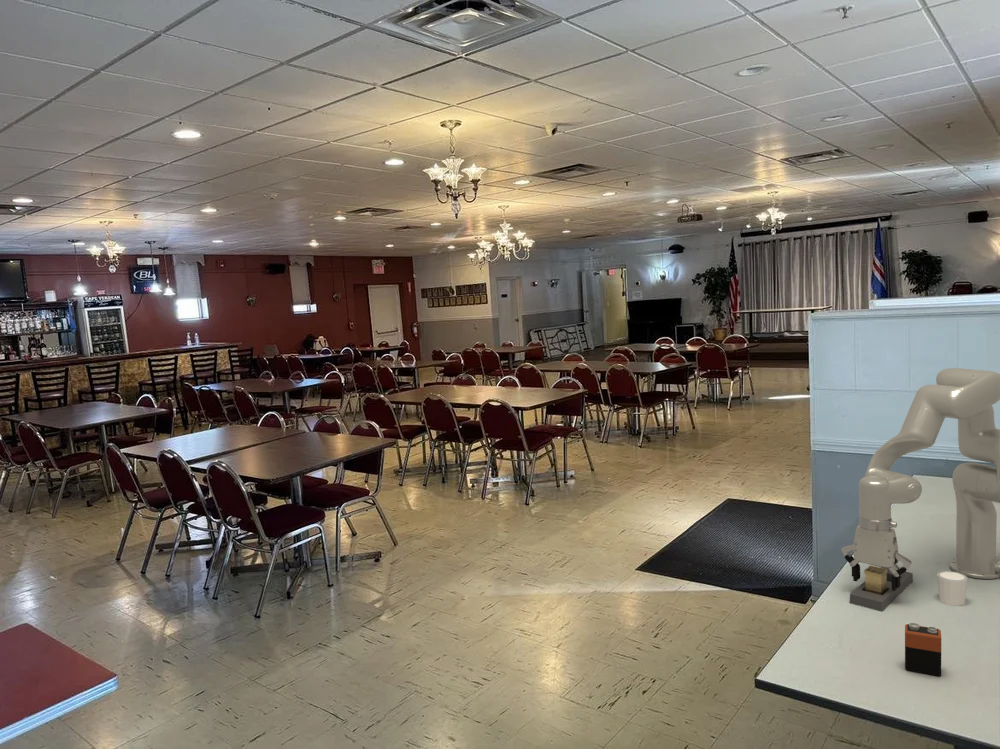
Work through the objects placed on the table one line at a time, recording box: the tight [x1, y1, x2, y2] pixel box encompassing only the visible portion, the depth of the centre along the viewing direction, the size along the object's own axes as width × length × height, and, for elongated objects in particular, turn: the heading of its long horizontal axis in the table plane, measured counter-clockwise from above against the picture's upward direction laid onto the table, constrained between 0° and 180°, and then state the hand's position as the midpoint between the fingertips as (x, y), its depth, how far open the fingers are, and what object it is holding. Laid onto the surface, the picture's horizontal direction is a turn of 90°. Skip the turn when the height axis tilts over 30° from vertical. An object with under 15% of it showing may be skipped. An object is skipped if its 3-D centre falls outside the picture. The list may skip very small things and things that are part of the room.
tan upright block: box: [863, 565, 888, 595], centre depth 188 cm, size 4×4×8 cm
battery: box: [904, 622, 942, 677], centre depth 154 cm, size 4×7×10 cm, turn 60°
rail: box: [849, 567, 914, 612], centre depth 192 cm, size 8×24×2 cm, turn 133°
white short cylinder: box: [936, 570, 969, 607], centre depth 184 cm, size 7×7×7 cm
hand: (875, 584), depth 188 cm, fingers open, 9 cm apart
